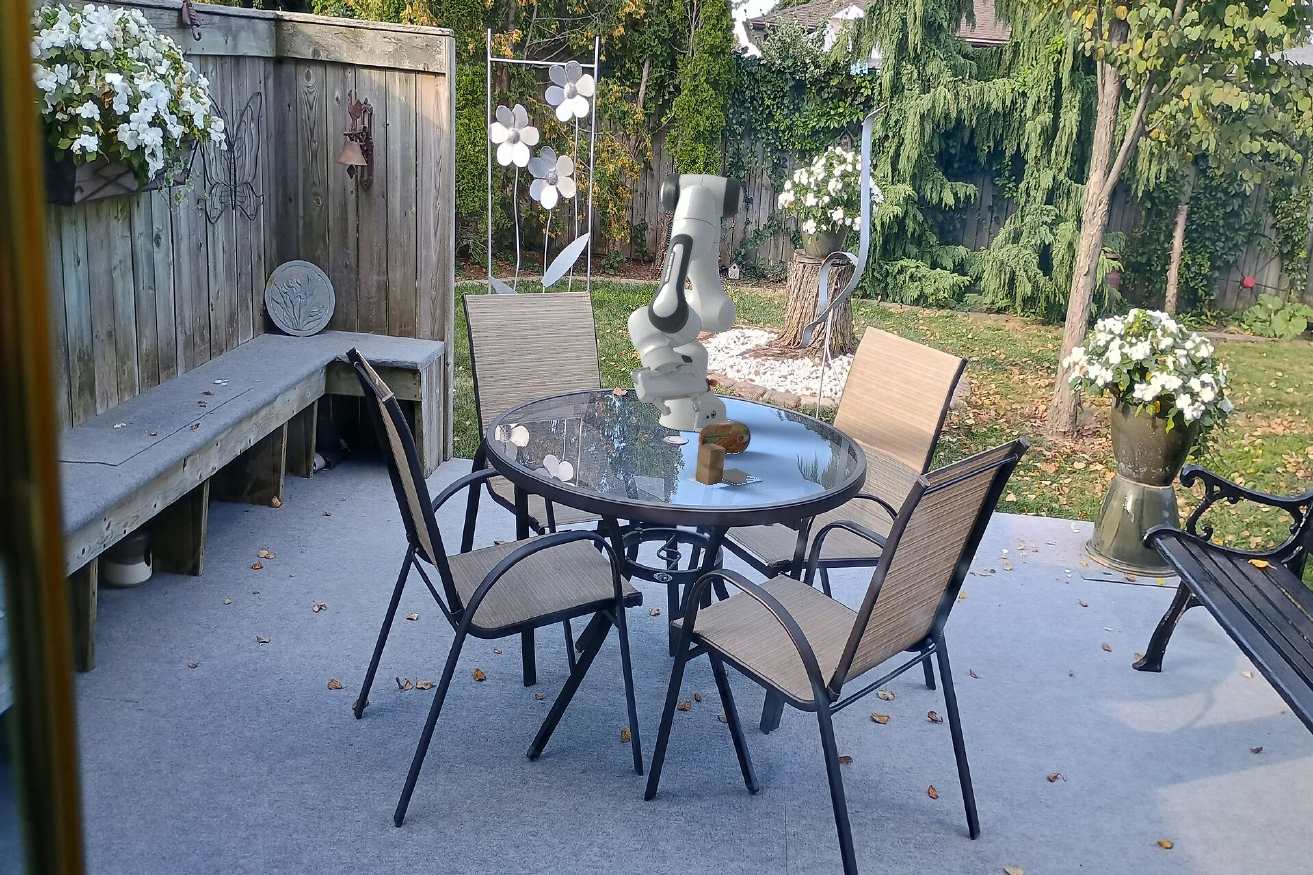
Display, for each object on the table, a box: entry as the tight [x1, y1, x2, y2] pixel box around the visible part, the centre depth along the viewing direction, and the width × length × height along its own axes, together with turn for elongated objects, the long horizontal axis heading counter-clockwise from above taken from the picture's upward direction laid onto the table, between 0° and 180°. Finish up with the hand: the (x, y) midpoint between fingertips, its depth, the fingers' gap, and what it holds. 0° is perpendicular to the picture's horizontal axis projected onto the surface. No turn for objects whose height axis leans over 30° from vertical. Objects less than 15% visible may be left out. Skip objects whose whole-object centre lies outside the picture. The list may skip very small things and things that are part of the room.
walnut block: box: [695, 444, 725, 485], centre depth 268 cm, size 5×5×9 cm
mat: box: [722, 468, 756, 485], centre depth 274 cm, size 9×10×1 cm
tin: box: [698, 421, 752, 454], centre depth 294 cm, size 15×3×8 cm, turn 117°
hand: (682, 412), depth 274 cm, fingers open, 8 cm apart
